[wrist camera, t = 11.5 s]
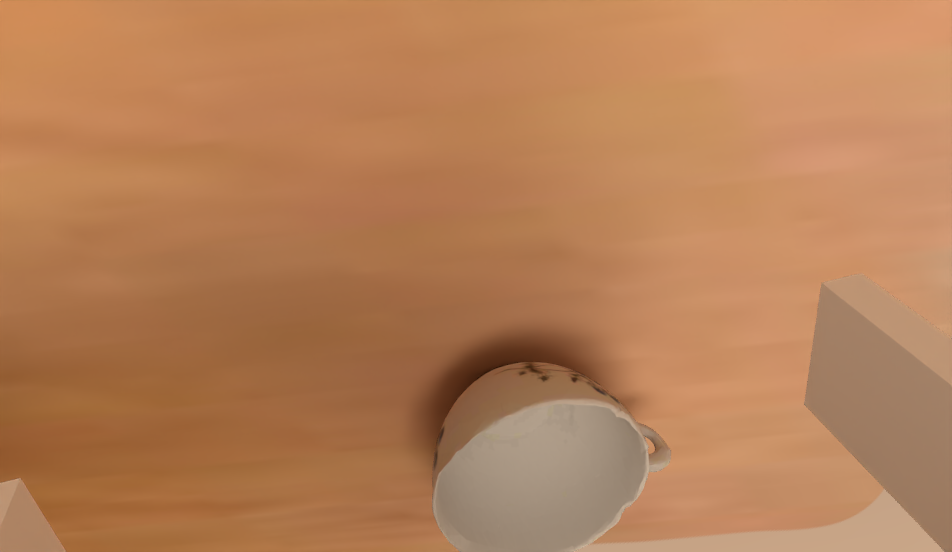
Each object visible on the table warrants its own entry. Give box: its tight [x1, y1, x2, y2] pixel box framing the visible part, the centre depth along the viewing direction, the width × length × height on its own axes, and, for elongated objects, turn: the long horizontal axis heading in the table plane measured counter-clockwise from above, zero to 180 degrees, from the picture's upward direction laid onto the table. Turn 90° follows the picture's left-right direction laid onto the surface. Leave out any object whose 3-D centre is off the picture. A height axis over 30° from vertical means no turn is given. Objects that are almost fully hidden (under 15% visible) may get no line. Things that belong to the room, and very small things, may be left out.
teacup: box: [432, 362, 671, 552], centre depth 45 cm, size 15×12×8 cm
